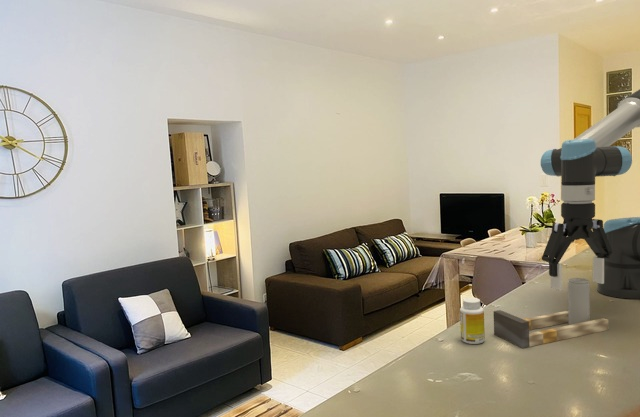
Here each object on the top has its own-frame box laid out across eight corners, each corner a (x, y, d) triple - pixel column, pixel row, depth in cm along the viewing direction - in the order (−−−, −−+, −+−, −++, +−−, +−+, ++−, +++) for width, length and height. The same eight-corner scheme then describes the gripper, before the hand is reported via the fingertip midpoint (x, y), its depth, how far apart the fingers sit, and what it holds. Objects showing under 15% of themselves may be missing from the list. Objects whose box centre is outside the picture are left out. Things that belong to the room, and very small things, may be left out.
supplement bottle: (489, 341, 117) (488, 300, 116) (472, 346, 115) (471, 304, 114) (473, 335, 122) (472, 295, 121) (456, 339, 120) (454, 299, 119)
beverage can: (592, 329, 121) (592, 282, 120) (571, 329, 122) (571, 282, 121) (586, 323, 126) (585, 277, 125) (566, 323, 127) (565, 278, 126)
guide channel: (575, 318, 130) (575, 296, 129) (608, 329, 120) (608, 306, 120) (494, 334, 122) (493, 311, 121) (522, 348, 112) (521, 322, 112)
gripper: (549, 206, 113) (549, 295, 115) (629, 199, 121) (628, 283, 123) (526, 204, 120) (526, 288, 122) (603, 198, 128) (602, 277, 130)
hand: (577, 285), depth 123 cm, fingers open, 13 cm apart
